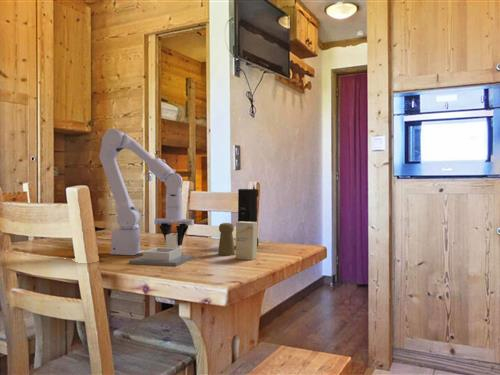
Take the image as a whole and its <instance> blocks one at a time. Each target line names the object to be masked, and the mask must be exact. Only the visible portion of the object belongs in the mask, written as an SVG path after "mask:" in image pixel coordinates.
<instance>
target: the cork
mask: <svg viewBox="0 0 500 375" xmlns="http://www.w3.org/2000/svg"><path fill="white" fill-rule="evenodd" d="M234 229H235V226H234V224H233V223H231V222H222V223H220V224H219V226H218V230H219V232H220V234H219V243H218V251H217V255H218V256H222V257H230V256H231V255H232V256H234V255H235V256H236V249H235V244H234V236H233V232H234Z"/></svg>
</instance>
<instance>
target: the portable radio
mask: <svg viewBox="0 0 500 375" xmlns="http://www.w3.org/2000/svg"><path fill="white" fill-rule="evenodd" d="M237 190H238V191H237V192H238V194H237V201H238V202H237V204H238V205H237V207H238V208H237V210H238V211H237V222H240V221H244V222H257V223H258V197H259V189H258V188H256V187H255V186H253V187H252V188H238V189H237ZM258 247H259V238H258V237H257V248H258Z"/></svg>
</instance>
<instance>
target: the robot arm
mask: <svg viewBox="0 0 500 375" xmlns="http://www.w3.org/2000/svg"><path fill="white" fill-rule="evenodd" d="M124 149H125V150H128V151H131V152H132V153H133V154H135V155H136V156H137V157H138V158H140V159H141V160H142V161H143V162H145V164H147V165H148V171H149V172H150V173H152V174H153V175H154V176H155V177H156V178H158V180H160V181H161V182H162V183H163V182H164V186H165V187H166V194H165V218H154V222H153V224H154V225H159V229H160V231H161V232H162V235H163V238H164V242H165V243H166V235H167V234H171V232H172V227H173V226H174V225H176V226H175V228H176V233H177V234H178V246H180V245H182V246H183V241H184V239H185V235H186V232H187V230H188V228H189V226H194V225H195V219H188V218H187V219H186V218H183V194H182V192H183V188H182V185H183V184H184V183H183V182H184V181H183V178H182V176H181V175H180V174H179V173H176V171H177V170H176V169H175V168H171V167H170V166H169V165H168V164H167V163H166V162H167V161H166V160H165V159H163V158H162V159H161V157H157V158H154V157H153V156H152V155H151V154H150V153H149V152H148V151H147V150H146V149H145V148H144V147H143V146H142V145H141V144H140V143H139V142H137V141H136V140H135V139H134V138H132V137H131V136H129V135H127V133H125V132H123V131H120V130H119V129H117V128H109V129H108V130H106V132H104V134H103V136H102V138H101V146H100V150H99V151H100V152H99V160H100V163H101V165H102V169H103V171H104V173H105V177H106V179H107V182H108V184H109V187H110V189H111V192H112V196H113V198H114V201H115V204H116V209H115V210H116V213H117V224H118V228H115V229H113V230H112V231H111V236H110V242H111V243H110V247H111V248H110V253H109V255H121V256H123V255H124V256H135V255H139V254H143V251H145V250H144V249H143V250H141V240H140V239H141V227H140V226H139V223H140V222H141V214H140V211H138V210H137V208H136V207H135V205H134V203H133V201H132V200H131V197H130V194H129V192H128V189H127V187H126V184H125V181H124V179H123V176H122V173H121V170H120V167H119V164H118V161H117V157H118V155H119V154H120V152H121V151H123V150H124Z"/></svg>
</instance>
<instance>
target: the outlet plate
mask: <svg viewBox="0 0 500 375" xmlns="http://www.w3.org/2000/svg"><path fill="white" fill-rule="evenodd" d="M194 259H195V254H182V249H181V248H166V247H159V246H158V247H157V246H156V247H154V248H150V249H148V250H144V251H143V252H142V256H138V257H135V258H132V259H129V260H128V264H132V265H148V266H150V265H151V266H166V267H167V266H169V267H177V266H180V265H182V264H184V263H186V262H188V261H191V260H194Z"/></svg>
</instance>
